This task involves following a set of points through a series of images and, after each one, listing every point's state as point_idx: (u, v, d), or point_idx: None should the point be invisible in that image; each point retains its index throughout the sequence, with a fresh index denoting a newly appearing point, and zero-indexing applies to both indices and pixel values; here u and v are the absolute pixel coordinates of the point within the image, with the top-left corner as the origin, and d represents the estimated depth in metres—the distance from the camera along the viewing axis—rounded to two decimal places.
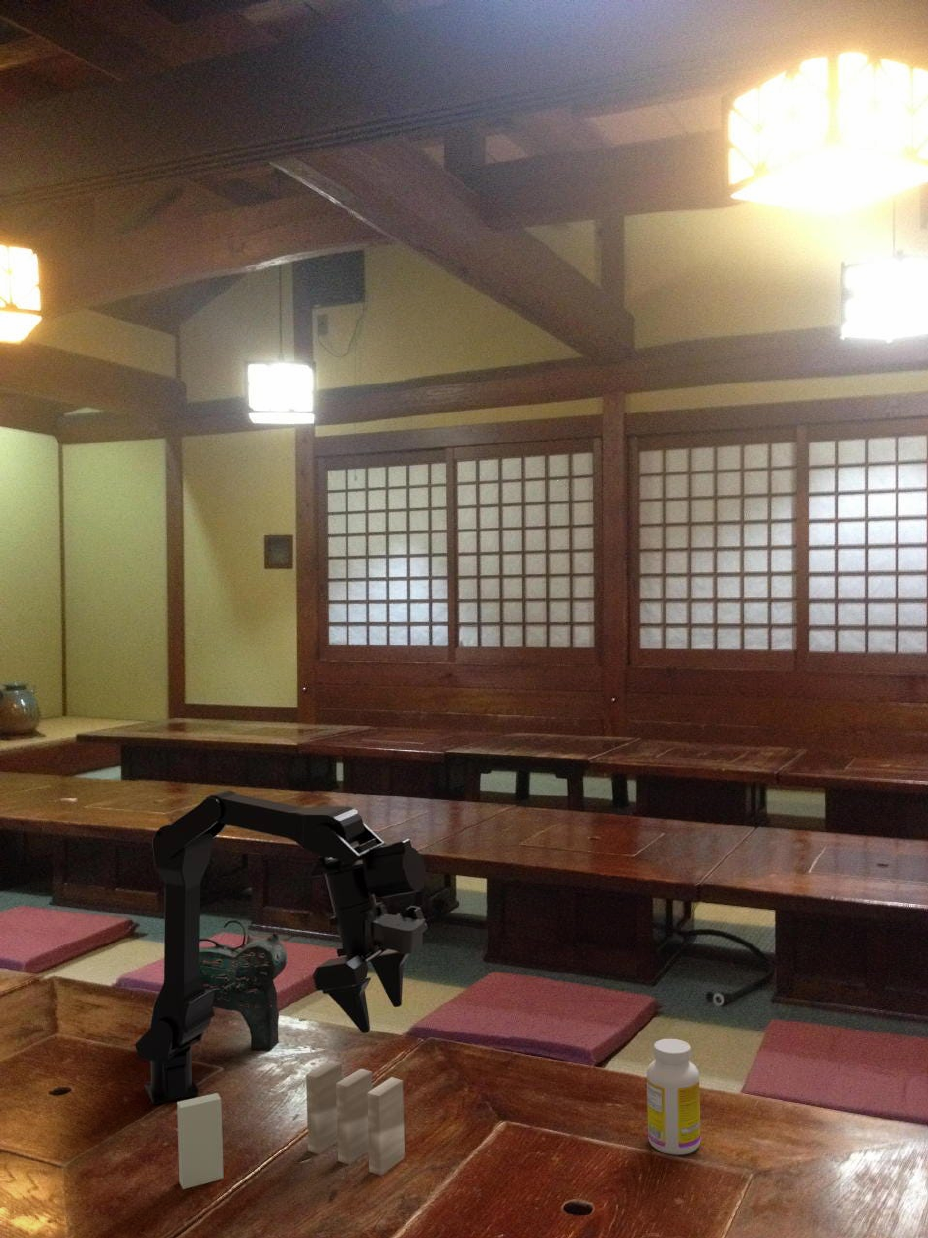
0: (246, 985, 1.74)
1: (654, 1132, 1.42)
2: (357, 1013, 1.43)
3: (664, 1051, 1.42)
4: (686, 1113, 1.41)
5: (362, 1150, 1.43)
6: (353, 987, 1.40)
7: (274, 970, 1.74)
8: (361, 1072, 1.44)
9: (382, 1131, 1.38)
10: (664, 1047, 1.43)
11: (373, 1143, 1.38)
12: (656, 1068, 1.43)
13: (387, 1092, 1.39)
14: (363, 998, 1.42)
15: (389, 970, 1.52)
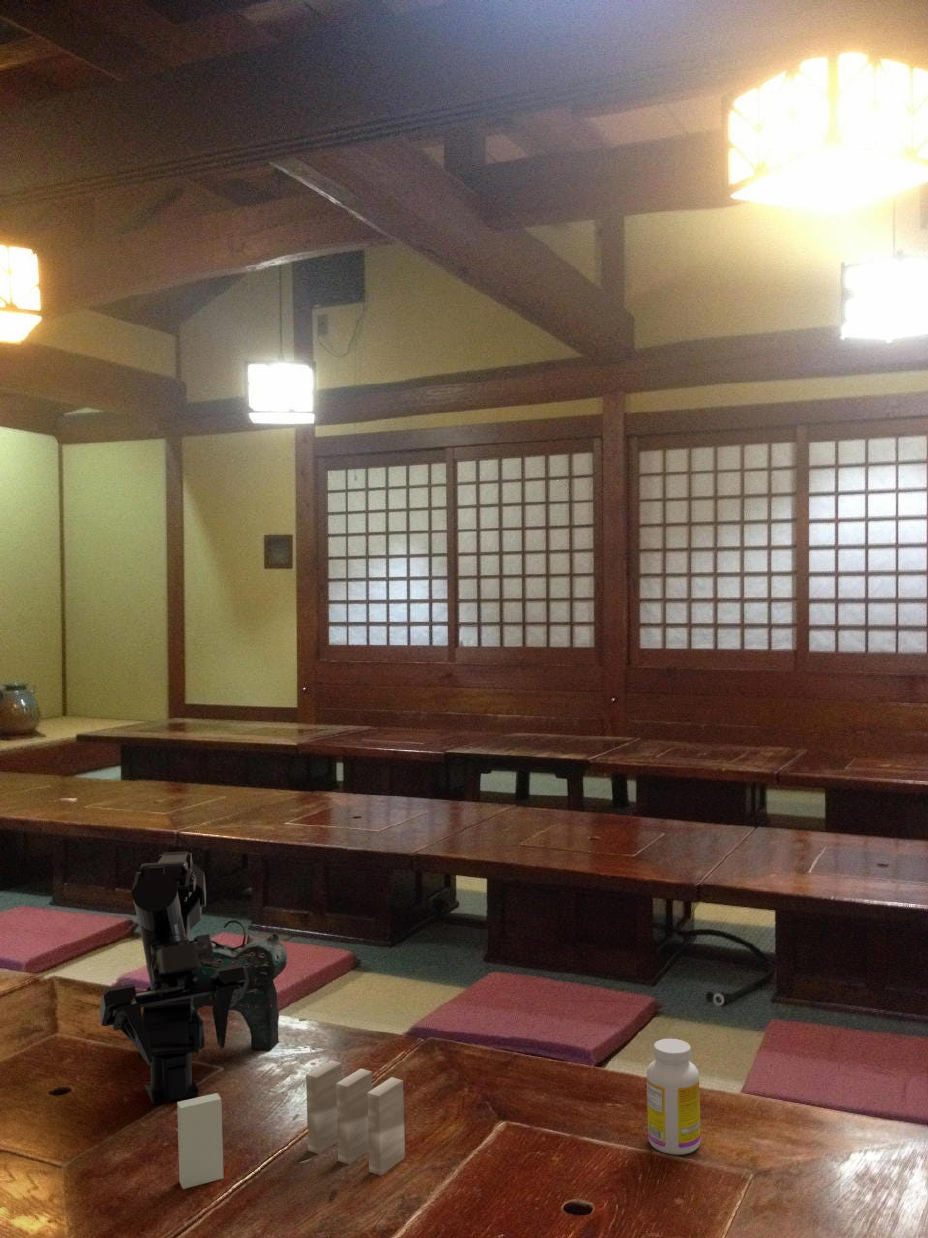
0: None
1: (654, 1132, 1.42)
2: (138, 1044, 1.42)
3: (664, 1050, 1.42)
4: (686, 1113, 1.41)
5: (362, 1150, 1.43)
6: (116, 1012, 1.42)
7: (274, 970, 1.74)
8: (361, 1072, 1.44)
9: (382, 1131, 1.38)
10: (664, 1047, 1.43)
11: (373, 1143, 1.38)
12: (656, 1068, 1.43)
13: (387, 1092, 1.39)
14: (139, 1027, 1.42)
15: (216, 1013, 1.48)
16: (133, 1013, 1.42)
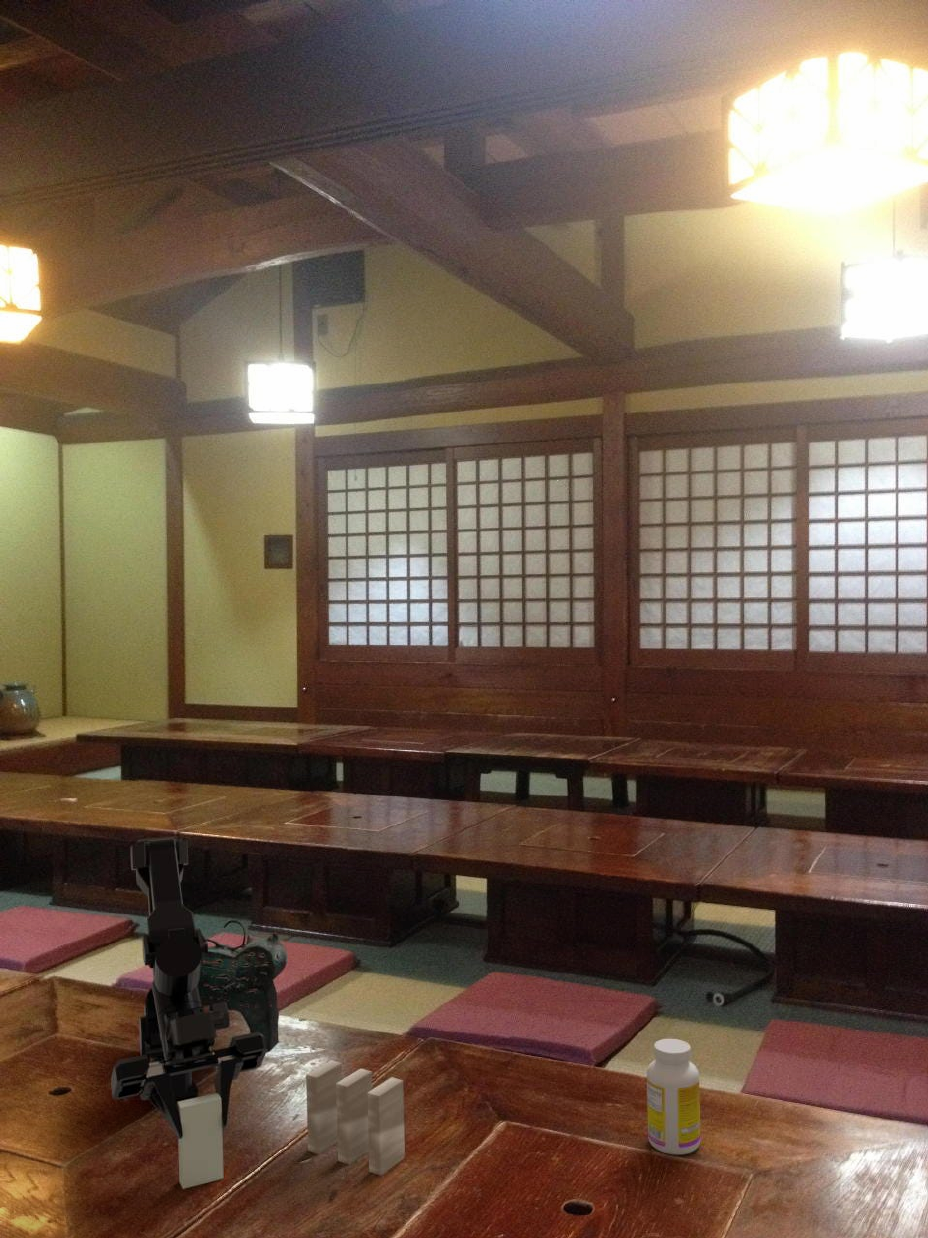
0: (246, 985, 1.74)
1: (654, 1132, 1.42)
2: (168, 1116, 1.36)
3: (664, 1051, 1.42)
4: (686, 1113, 1.41)
5: (362, 1150, 1.43)
6: (144, 1082, 1.36)
7: (274, 970, 1.74)
8: (361, 1072, 1.44)
9: (383, 1131, 1.38)
10: (664, 1047, 1.43)
11: (373, 1143, 1.38)
12: (656, 1068, 1.43)
13: (387, 1092, 1.39)
14: (169, 1098, 1.36)
15: (218, 1088, 1.40)
16: (162, 1084, 1.36)
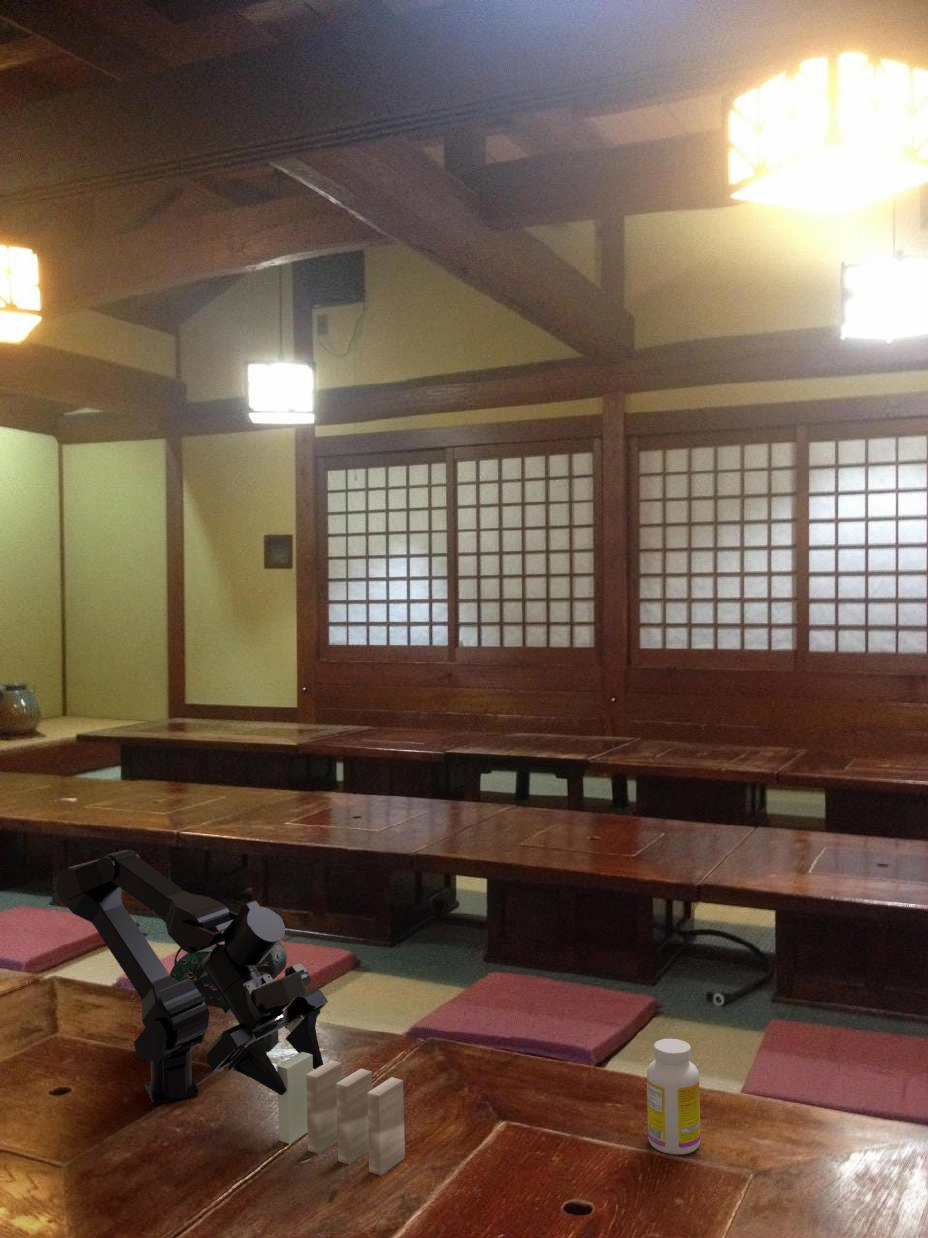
0: None
1: (654, 1132, 1.42)
2: (267, 1077, 1.45)
3: (664, 1050, 1.42)
4: (686, 1113, 1.41)
5: (362, 1150, 1.43)
6: (244, 1050, 1.43)
7: (274, 970, 1.74)
8: (361, 1072, 1.44)
9: (382, 1131, 1.38)
10: (664, 1047, 1.43)
11: (373, 1143, 1.38)
12: (656, 1068, 1.43)
13: (387, 1091, 1.39)
14: (266, 1060, 1.45)
15: (302, 1040, 1.53)
16: (260, 1048, 1.44)
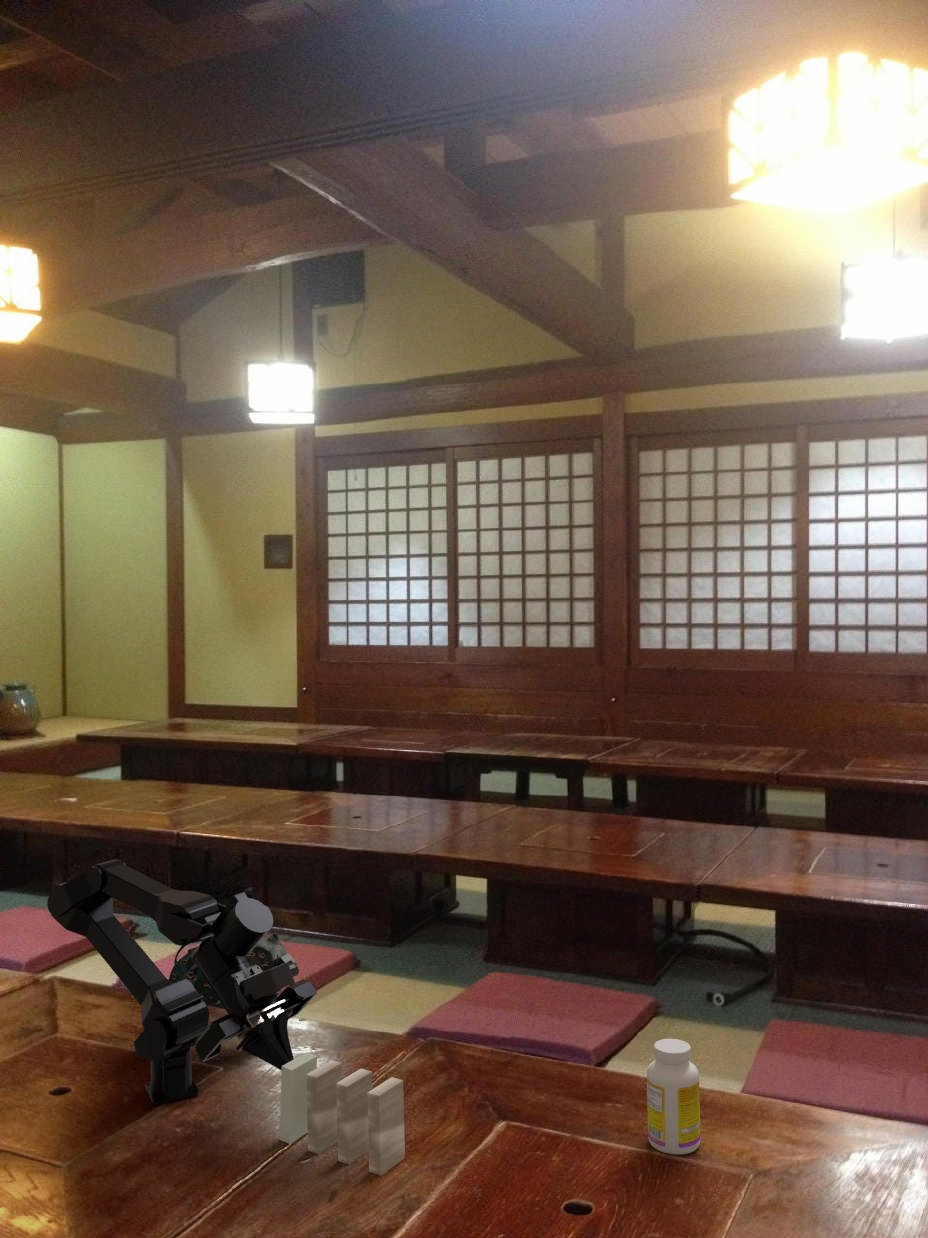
0: None
1: (654, 1132, 1.42)
2: (274, 1057, 1.49)
3: (664, 1051, 1.42)
4: (686, 1113, 1.41)
5: (362, 1150, 1.43)
6: (252, 1030, 1.47)
7: None
8: (361, 1072, 1.44)
9: (383, 1131, 1.38)
10: (664, 1047, 1.43)
11: (373, 1143, 1.38)
12: (656, 1068, 1.43)
13: (387, 1091, 1.39)
14: (273, 1040, 1.49)
15: None
16: (267, 1028, 1.48)
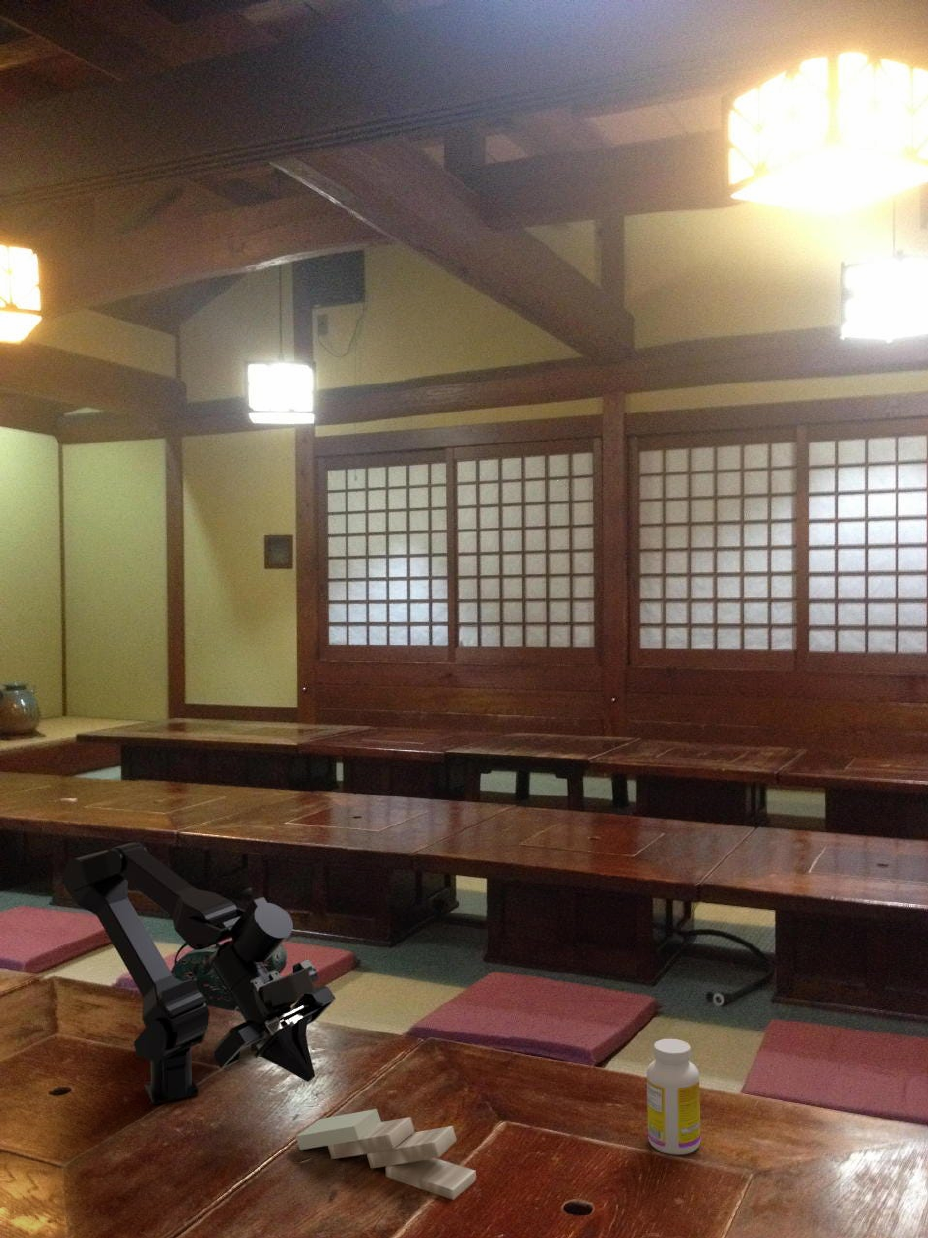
0: None
1: (654, 1132, 1.42)
2: (293, 1064, 1.47)
3: (664, 1051, 1.42)
4: (686, 1113, 1.41)
5: None
6: (271, 1037, 1.45)
7: None
8: (451, 1135, 1.39)
9: None
10: (664, 1047, 1.43)
11: (411, 1182, 1.36)
12: (656, 1068, 1.43)
13: None
14: (292, 1047, 1.47)
15: None
16: (286, 1035, 1.47)
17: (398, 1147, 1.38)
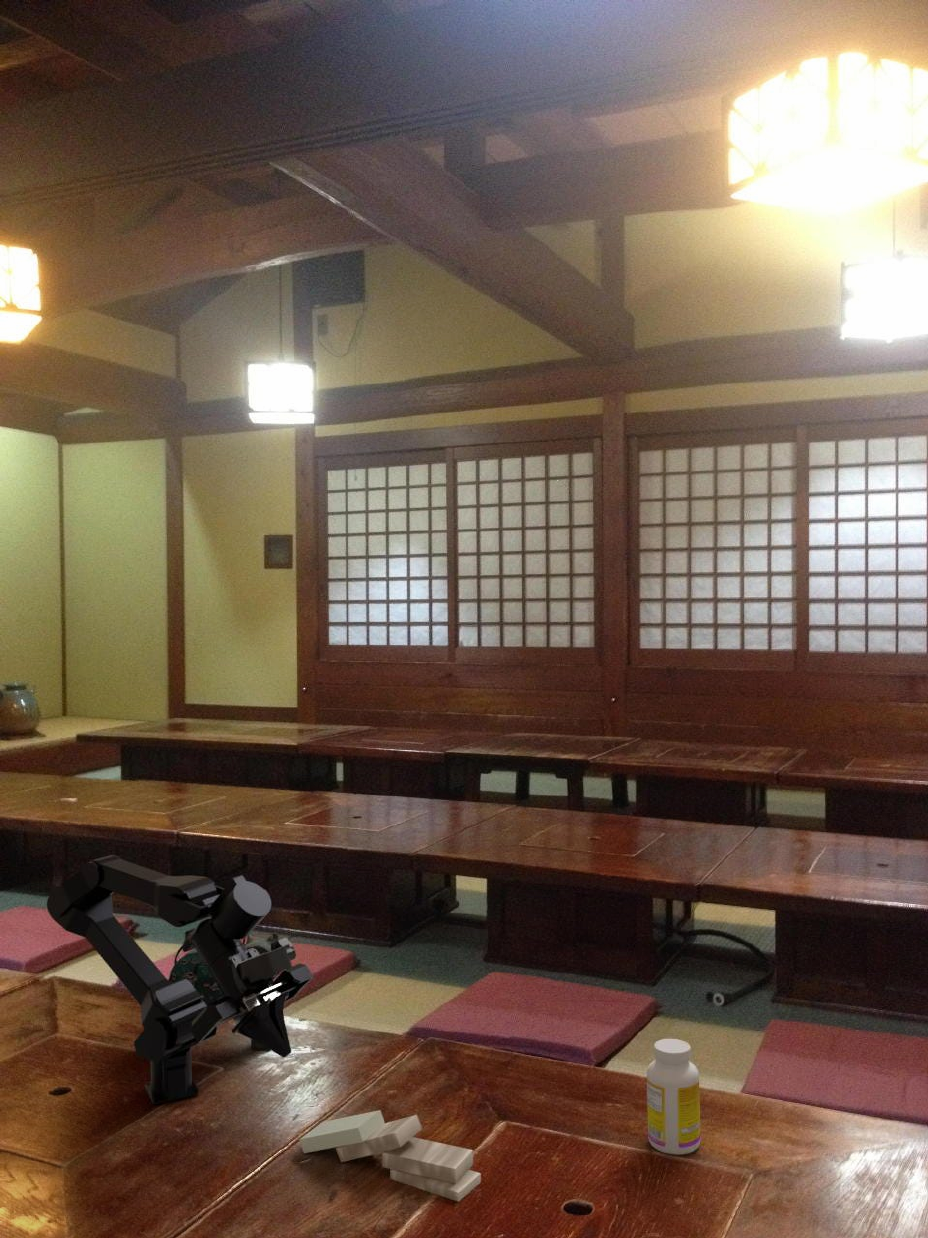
0: None
1: (654, 1132, 1.42)
2: (270, 1040, 1.49)
3: (664, 1051, 1.42)
4: (686, 1113, 1.41)
5: None
6: (248, 1013, 1.47)
7: None
8: (470, 1160, 1.37)
9: None
10: (664, 1047, 1.43)
11: (415, 1185, 1.35)
12: (656, 1068, 1.43)
13: None
14: (269, 1023, 1.49)
15: None
16: (263, 1011, 1.49)
17: (416, 1158, 1.36)
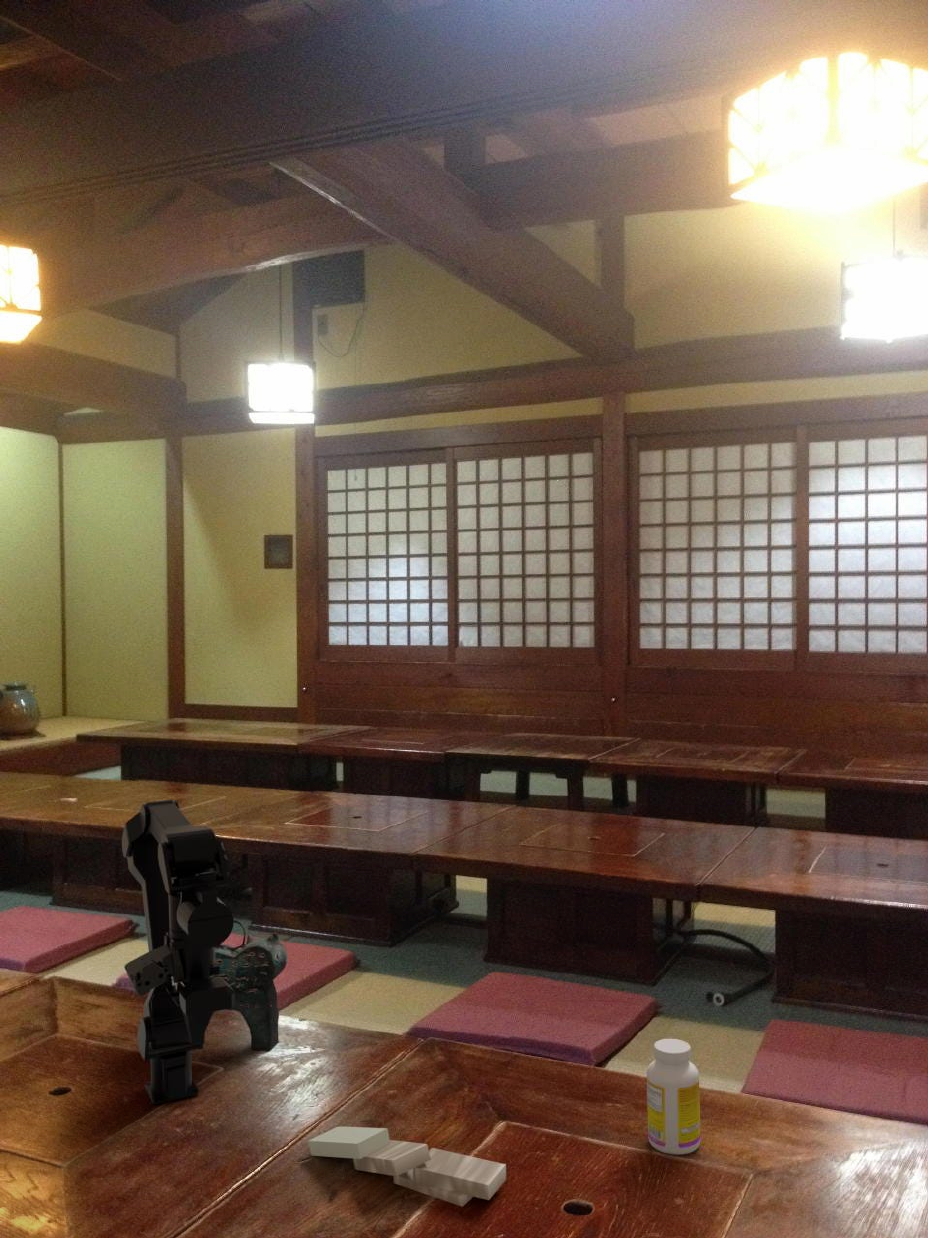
0: (246, 985, 1.74)
1: (654, 1132, 1.42)
2: None
3: (664, 1051, 1.42)
4: (686, 1113, 1.41)
5: None
6: (173, 986, 1.49)
7: (274, 970, 1.74)
8: (503, 1175, 1.34)
9: None
10: (664, 1047, 1.43)
11: (419, 1190, 1.34)
12: (656, 1068, 1.43)
13: None
14: None
15: None
16: None
17: (448, 1173, 1.33)
